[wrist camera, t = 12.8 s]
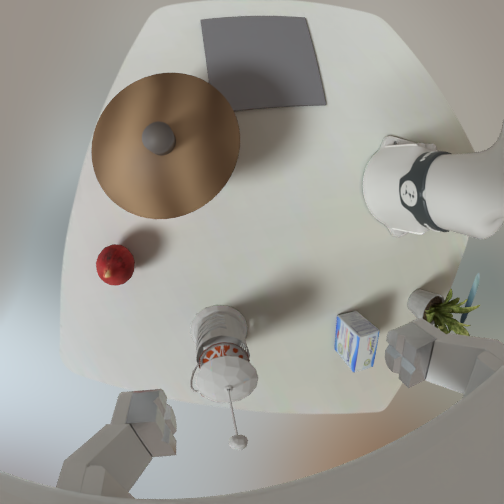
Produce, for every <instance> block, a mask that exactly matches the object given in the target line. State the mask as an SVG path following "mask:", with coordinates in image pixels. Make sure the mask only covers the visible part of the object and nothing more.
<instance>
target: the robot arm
mask: <svg viewBox="0 0 504 504" xmlns="http://www.w3.org/2000/svg"><path fill="white" fill-rule="evenodd" d="M394 142H395V145H394ZM363 193H364V198H365V202H366V204H367V207H368V209H369V210H370V212H371V214H372V215H373V216H374V217H375V218H376V219H377V220H378V221H380V222H381V223H383V224H384V225H386V226H387V228H388V229H389V231H390V233H391V234H392V235H393V236H394V237H401V236H403V235H405V234H407V233H414V234H420V235H421V234H424V232H427V231H428V230H430V229H431V230H434V231H439V232H441V231H442V232H449V231H452V232H456V233H460V234H463V235H467V236H470V237H474V238H477V239H485V238H488V237H490V236H492V235H493V234H494V233H496V232H497V231H498V230H499V229H500V228H501V226H502V225H503V223H504V121H503V125H502V131H501V134H500V136H499V138H498V140H497V141H496V143H495V144H494V145H493V146H491V147H490V148H488V149H487V150H484V151H482V152H475V153H465V154H451V153H448V152H443V151H438V150H437V148H436V145H435V144H424V143H414V142H411V141H408V140H404V139H401V138H397V137H393V136H386V137H384V139H383V141H382V143H381V146H380V149H379V150H378V151H377V152H376V153H375V154H374V155H373V156H372V157H371V159H370V160H369V162H368V164H367V166H366V169H365V172H364V177H363ZM386 341H387V342H388V343H389V345H388V347H387V349H386V350H385V360H386V364H387V366H388V367H389V369H390V370H391V371H392V372H394V373H398V374H399V379H400V380H401V381H402V382H403V383H404V384H405V385H406V386H407V387H408V388H410V387H412V386H414V385H416V384H417V383H420V382H422V381H424V380H425V379H426V381H428V382H431V383H434V384H437V385H440V386H442V387H445V388H448V389H451V390H454V391H457V392H460V393H463V394H464V395H463V398H462V399H461V400H460V401H459V402H457V403H456V404H454V405H453V406H452V407H450V408H449V409H447V410H446V411H444V412H443V413H441V414H440V415H438V416H437V417H435V418H433V419H432V420H430V421H429V422H427V423H425V424H424V425H422V426H420V427H419V428H417V429H416V430H414V431H412V432H410V433H408V434H407V435H405V436H403V437H401V438H399V439H397V440H396V441H394V442H392V443H389V444H388V445H386V446H384V447H382V448H379V449H377V450H375V451H373V452H371V453H369V454H366V455H364V456H362V457H359V458H357V459H355V460H352V461H350V462H347V463H345V464H342V465H340V466H337V467H334V468H332V469H329V470H326V471H323V472H320V473H317V474H314V475H311V476H308V477H305V478H301V479H298V480H294V481H290V482H287V483H283V484H279V485H275V486H270V487H266V488H261V489H257V490H252V491H246V492H240V493H234V494H227V495H220V496H210V497H201V498H186V499H135V498H134V497H133V496H132V495H131V494H130V493H128V492H129V490H130V489H131V488H132V486H133V485H134V484H135V482H136V481H137V480H138V478H139V477H140V475H141V474H142V472H143V471H144V470H145V468H146V467H147V466H148V464H149V463H150V461H151V460H152V457H159V456H171V455H176V439H175V437H174V436H173V434H174V433H175V432H176V419H175V415H174V412H173V409H172V407H171V406H170V405H168V404H167V403H166V401H167V397H166V395H165V393H164V391H163V390H162V389H155V390H143V391H131V392H121V393H120V394H119V396H118V400H117V403H116V406H115V410H114V413H113V417H112V420H111V424H107V425H106V426H104V427H103V428H102V429H101V430H100V431H99V432H98V433H96V434H95V435H94V436H93V437H92V438H90V439H89V440H88V441H87V442H86V443H85V444H83V445H82V446H81V447H80V448H79V449H78V450H76V451H75V452H74V453H73V454H72V455H71V456H69V457H68V458H67V459H66V460H65V461H64V463H63V466H62V469H61V472H60V476H59V479H58V482H57V486H56V488H54V487H50V486H46V485H43V484H39V483H35V482H32V481H29V480H25V479H22V478H19V477H16V476H13V475H11V474H8V473H5V472H2V471H0V504H504V344H503V343H502V342H500V341H499V340H496V339H488V338H480V337H473V336H466V335H459V334H451V333H448V334H445V333H444V332H442V331H441V330H439V329H438V328H436V327H435V326H433V325H432V324H430V323H429V322H427V321H426V320H424V319H423V318H418V319H415V320H413V321H411V322H409V323H407V324H405V325H403V326H400V327H398V328H396V329H393V330H391V331H389V332H388V334H387V340H386Z"/></svg>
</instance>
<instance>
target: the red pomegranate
mask: <svg viewBox="0 0 504 504" xmlns="http://www.w3.org/2000/svg"><path fill="white" fill-rule="evenodd" d="M134 264H135V262H134V258H133V255H132V254H131V253H130V251H129V250H128V249H127V248H125V247H124V246H122V245H115V244H113V245H110V246H108V247H105V248H104V249H103V250H102V252H101V253H100V254H99V256H98V259H97V262H96V268H97V272H98V275H99V277H100V278H101V279H102V280H103V281H104V282H105V283H107V284H109V285H120V284H124V283H125V282H127V281H128V280H129V279H130V278H131V277H132V274H133V272H134Z"/></svg>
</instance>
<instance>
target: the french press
mask: <svg viewBox="0 0 504 504" xmlns="http://www.w3.org/2000/svg"><path fill="white" fill-rule="evenodd" d="M247 329H248V327H247V324H246V320H245V318H244V317H243V316H242V315H241V313H240V312H239V311H238V310H236V309H234V308H232V307H230V306H224V305H214V306H210V307H206V308H204V309H203V310H202V311H200V312H199V313H198V314H196V316H195V318H194V319H193V321H192V323H191V330H190V334H191V336H192V339H193V341H194V343H195V344H196V354H197V363H198V364H197V365H196V367H195V369H194V370H193V373H192V377H191V389H192V390H193V392H200V394H201V395H202V396H203V397H206V398H207V399H209V400H212V401H215V402H218V403H230V406H231V412H232V417H233V423H234V428H235V433H236V435H235V436H232V437H231V438H230V439H229V445H230V446H231V447H232V448H233V449H235V450H242V449H244V448H245V447H246V446H247V441H248V440H247V438H246V437H245V436H243V435H238V433H237V428H236V423H235V418H234V413H233V407H232V402H235V401H239V400H242V399H243V398H245V397H247V396H248V395H250V394H251V393H252V391H253V390H254V389H255V388H256V386H257V381H258V375H257V372H256V369H255V368H254V367H253V366H252V365H251V364H250V363H249V361H250V360H249V357H250V354H249V351H248V347H247V344H246V341H245V338H246V334H247ZM243 343H244V346H243ZM241 344H242V346H241V347H240V345H241ZM242 347H243V348H242ZM246 347H247V352H246ZM244 348H245V350H244ZM198 365H199V368H200V369H199V371H198V372H197V374H196V381H195V384H196V386H197V388H198V391H197V390H194V389H193V387H192V379H193V376H194V372H195V370H196V368H197V367H198Z"/></svg>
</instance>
